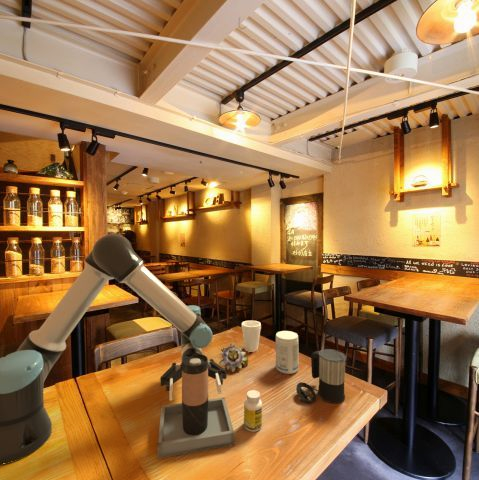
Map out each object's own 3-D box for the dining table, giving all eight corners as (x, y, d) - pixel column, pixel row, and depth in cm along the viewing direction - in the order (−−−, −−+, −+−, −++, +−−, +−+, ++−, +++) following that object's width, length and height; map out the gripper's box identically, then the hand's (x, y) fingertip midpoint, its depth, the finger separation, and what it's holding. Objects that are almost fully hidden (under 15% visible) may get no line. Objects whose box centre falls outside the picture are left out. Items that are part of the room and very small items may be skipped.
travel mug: (203, 438, 75) (203, 367, 74) (177, 434, 76) (177, 364, 76) (211, 419, 82) (211, 354, 82) (188, 415, 84) (187, 352, 83)
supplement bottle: (256, 435, 77) (256, 401, 77) (240, 427, 80) (240, 395, 80) (265, 423, 82) (265, 392, 82) (249, 417, 85) (249, 386, 84)
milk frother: (349, 395, 96) (350, 354, 96) (329, 417, 85) (330, 371, 84) (313, 380, 106) (313, 342, 105) (291, 397, 95) (291, 356, 94)
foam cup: (237, 350, 132) (237, 324, 131) (248, 344, 139) (248, 319, 139) (254, 355, 126) (254, 328, 126) (264, 348, 134) (264, 322, 133)
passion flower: (233, 383, 113) (217, 365, 109) (227, 366, 123) (213, 349, 119) (255, 367, 114) (240, 348, 110) (247, 351, 124) (234, 333, 120)
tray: (157, 458, 69) (157, 445, 69) (161, 416, 85) (161, 405, 85) (234, 445, 74) (234, 432, 74) (224, 407, 89) (224, 397, 89)
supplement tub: (293, 362, 120) (293, 329, 120) (302, 373, 111) (302, 338, 110) (272, 364, 118) (272, 331, 117) (280, 376, 109) (280, 340, 108)
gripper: (226, 364, 99) (239, 399, 79) (156, 371, 94) (149, 411, 73) (226, 344, 99) (239, 374, 78) (155, 350, 94) (149, 384, 73)
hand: (195, 392), depth 76 cm, fingers open, 13 cm apart
